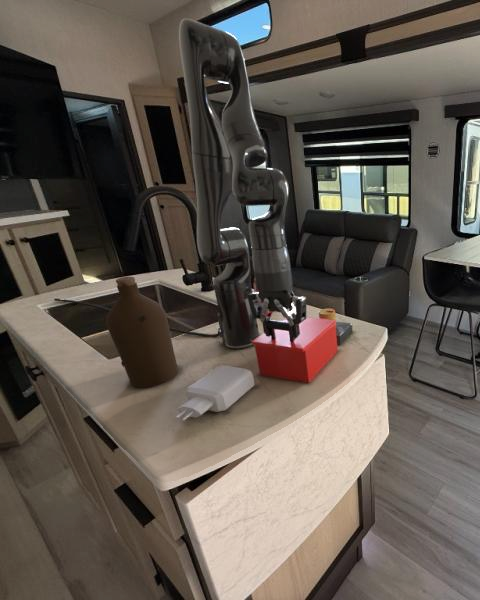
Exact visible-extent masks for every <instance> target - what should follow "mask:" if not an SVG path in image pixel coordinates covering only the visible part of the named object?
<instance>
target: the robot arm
mask: <svg viewBox="0 0 480 600" xmlns="http://www.w3.org/2000/svg"><path fill="white" fill-rule="evenodd" d="M178 46H179V47H178V48H179V53H180V54H179V55H180V61H181V68H182V73H183V80H184V81H183V82H184V87H185V93H186V99H187V108H188V117H189V129H190V144H191V145H190V148H191V149H190V150H191V160H192V168H193V169H192V170H193V177H194V187H195V196H196V197H195V198H196V247H197V251H198V254H199V257H200V259H201V261H202V262H203V263H204V264H205V265H206V266H209V267H219V266H222V265H225V267H224V269H223V270H222V271H221V272H220V273H219V274H217V275H216V276H215V277H214V278H213V280H212V286H213V290H214V294H215V299H216V304H217V308H218V313H217V315H216V317H217V322H218V326H219V328H218V329H217V330H218V331H217V333H214V334H209V333H202V332H195V331H187V330H184V329H180V328H179V329H178V328H174V327H171V326H169V331H170V332H171V331H172V332H176V333H180V334H185V335H191V336H199V337H205V338H217V337H219V338H221V340H222V344H223V345H225V346H226V347H227V348H229V349H232V350H233V349H244V348H248V347H251V346H253V345H252V341H253V340H255V339H256V338H258V337H259V336H261V334H260V331H259V330H260V329H259V322H258V320H259V321H260V322H261V323H262V330H263V334H264V333H265V334H266V336H268V337H270V336H271V332H270V329H269V328H268V327H267V322H268V321H269V320H273V319H272V316H273V313H274V312H277V313H281V315H282V317H283V318H285V319H287V321H288V323H289V324H290V325H289V329H290V337H291V339H292V340H295V339H296V338H297V337H298V336H299V335H300V330H299V324H300V323H301V322H303V321H304V320H305V319H306V317H307V301H308V300H307V296H306V295H302V296H299V295H298V296H297V295H295V293H294V291H293V284H294V283H293V276H292V275H293V274H292V267H291V258H290V254H289V250H288V246H287V245H288V244H287V237H286V229H285V227H286V226H285V225H286V211H287V207H288V201H289V196H290V195H289V194H290V193H289V192H290V186H289V181H288V179H287V177H286V175H285V173H284V172H283V171H281V170H280V169H278V168H273V167H259V166H261V165H263V164H264V163H266V161H267V159H268V150H267V146H266V144H265V141H264V138H263V135H262V133H261V130H260V127H259V124H258V121H257V118H256V115H255V110H254V103H253V99H252V93H251V88H250V81H249V77H248V71H247V67H246V61H245V57H244V53H243V50H242V47H241V45H240V43H239V41H238V39H237V38H236V37H235V36H234V35H232V34H231V33H229V32H227V31H224V30H221V29H219V28H216V27H213V26H211V25H208V24H205V23H203V22H200V21H197V20H194V19H191V18H183V19H182V20H181V21H180V23H179V27H178ZM205 79H208V80H211V81H216V82H219V83H223V84H228V85H229V87H230V89H231V93H230V96H229V98H228V100H227V102H226V103H225V105H224V108H223V109H222V112H221V116H220V118H219V116H218V115H217V113H216V111H215V109H214V107H213V105H212V102H211V100H210V97H209V94H208V91H207V90H208V89H207V86H206V81H205ZM231 195H233V197H234V199H235V200H236V201H237V202H238V203H239V204H241V205H242V206H246V207H254V206H255V207H256V206H269V208H268V210H267V212H266V213H265V214H264V215H261V216H258V217H254V218H251V219H250V220H249V221H248V222H247V230H248V237H249V243H250V248H251V257H250V249H249V244H248V241H247V238H246V235H245V234H244V233H243V231H242V230H241V229H239V228H238V227H233V226H231V227H230V226H229V227H223V228H222V225H221V224H222V215H223V211H224V209H225V206H226V204H227V202H228V200H229V199H230V197H231ZM251 262H252V266H251ZM252 269H253V274H254V275H253V276H254V279H255V280H254V281H256V287H257V290H259V293H258V292H257V291H255V292H254V291H253V289H252V283H251V278H252ZM60 299H61V298H53V301H56V302H64V303H70V304H71V303H72V304H78V305H84V306H88V307H92V308H97V309H101V310H104V311H106V312H107V311H108V312H109V311H110V309H111V308H108V307H105V306H101V305H98V304H92V303H89V302H84V301H83V302H82V301H77V300H72V299H64V300H60ZM261 301H262V302H263V307H262V303H261Z"/></svg>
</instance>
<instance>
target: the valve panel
mask: <svg viewBox="0 0 480 600" xmlns="http://www.w3.org/2000/svg"><path fill="white" fill-rule="evenodd" d="M352 333H353V323H352V322H343V321H336V338H337V346H338V345H339V346H340V345H342V344H343V343H344V342H345V341H346V340H347V339H348V337H349V336H350V335H351V334H352Z"/></svg>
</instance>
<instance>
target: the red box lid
mask: <svg viewBox="0 0 480 600" xmlns="http://www.w3.org/2000/svg"><path fill="white" fill-rule="evenodd" d="M334 323H335V320H329V319H321V318H319V317H312V316H310V317H309V316H306V319H305V320H304V321H303V322H301V323H300V324H299V330H300V335H299V336H298V337H297V338H296V339H295V340H292V339H291V337H290V329H289V325H290V324H289V323H288V321H287V319H286V318H285V319H283V320H273V319H272V320H269V321H268V322H267V327H268V328H269V329H270V332H271V336H270V337H268V336H266V334H265V333H264V332H263V333H262V334H260V336H259V337H258V338H256V339H255V340H253V341H252V346H255V345H259V346H266V347H273V348H280V349H287V350H294V351H301V352H304V351H305V350H306V349H307V348H308V347H309V346H310V345H311V344H312V343H313V342H315V341H316V340H317V339H318V338H319V337H320V336H321V335H322V334H323V333H324V332H326V331H327V330H328V329H329V328H330V327H331V326H332V325H333V324H334Z"/></svg>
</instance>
